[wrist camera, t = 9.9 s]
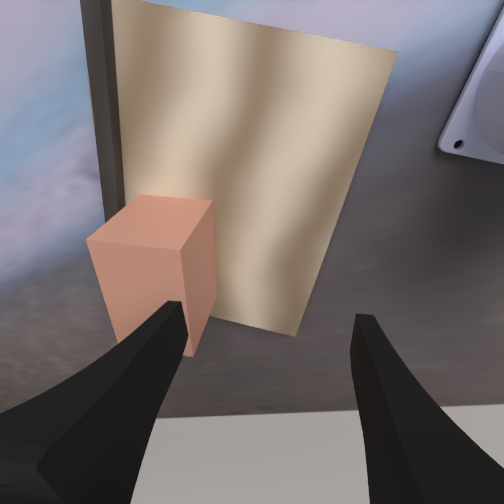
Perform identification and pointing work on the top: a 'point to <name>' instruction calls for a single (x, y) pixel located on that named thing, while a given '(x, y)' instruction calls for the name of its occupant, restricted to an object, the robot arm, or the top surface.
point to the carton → (157, 262)
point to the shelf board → (234, 138)
